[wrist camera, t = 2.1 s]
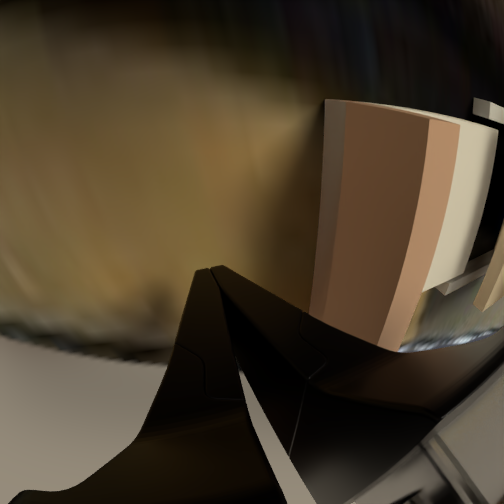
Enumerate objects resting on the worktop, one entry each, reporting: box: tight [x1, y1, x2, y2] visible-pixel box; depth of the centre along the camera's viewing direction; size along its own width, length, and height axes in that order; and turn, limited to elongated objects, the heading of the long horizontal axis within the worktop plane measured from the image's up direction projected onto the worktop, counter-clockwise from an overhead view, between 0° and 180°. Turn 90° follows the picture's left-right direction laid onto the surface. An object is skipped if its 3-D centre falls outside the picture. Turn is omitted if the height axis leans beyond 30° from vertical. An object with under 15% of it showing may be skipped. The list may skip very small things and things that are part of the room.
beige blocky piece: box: [309, 99, 498, 352], centre depth 12 cm, size 12×10×5 cm
